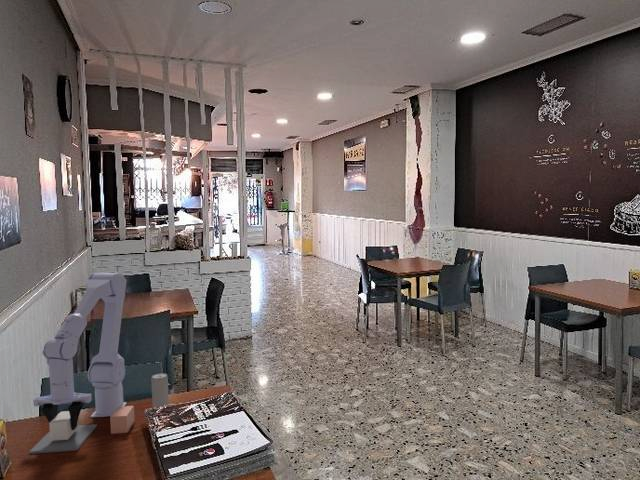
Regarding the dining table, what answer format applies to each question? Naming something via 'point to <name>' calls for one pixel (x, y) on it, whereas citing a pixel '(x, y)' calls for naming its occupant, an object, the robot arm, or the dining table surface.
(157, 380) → the beverage can
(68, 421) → the white brick
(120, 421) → the terracotta brick
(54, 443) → the base mat
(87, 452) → the dining table surface
